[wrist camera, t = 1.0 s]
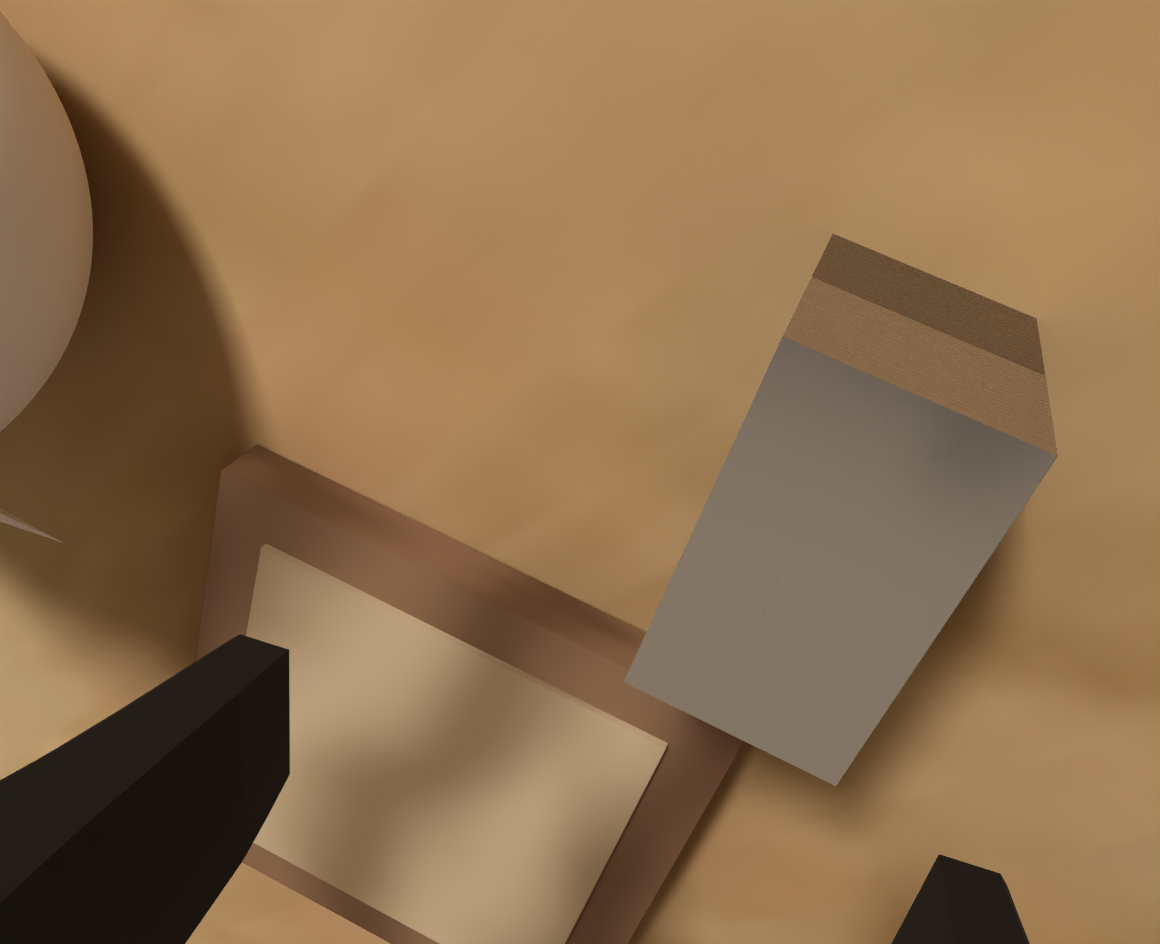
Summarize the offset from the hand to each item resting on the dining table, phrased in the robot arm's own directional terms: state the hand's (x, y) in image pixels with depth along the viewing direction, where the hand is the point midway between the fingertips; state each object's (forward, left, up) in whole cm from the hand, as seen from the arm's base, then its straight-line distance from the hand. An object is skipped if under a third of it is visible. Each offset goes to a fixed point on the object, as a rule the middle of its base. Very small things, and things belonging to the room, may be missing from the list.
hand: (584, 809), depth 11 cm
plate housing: (-2, 0, -12) cm, 12 cm away
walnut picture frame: (+4, +14, -12) cm, 19 cm away
